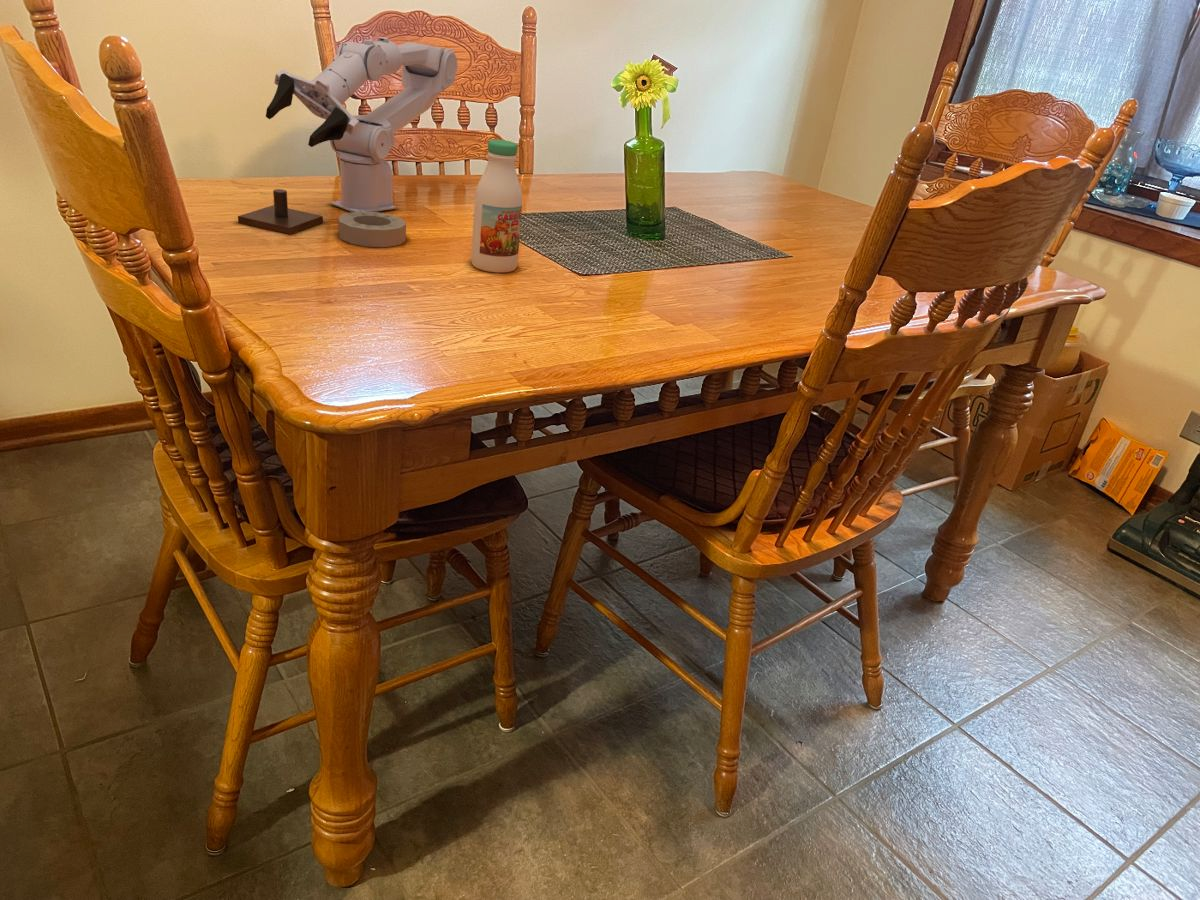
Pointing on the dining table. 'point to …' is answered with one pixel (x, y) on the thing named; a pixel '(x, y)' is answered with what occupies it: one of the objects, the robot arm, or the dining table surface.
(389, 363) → the dining table surface
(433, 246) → the dining table surface
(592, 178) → the dining table surface
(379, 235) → the tape roll
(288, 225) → the stand
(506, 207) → the milk bottle
